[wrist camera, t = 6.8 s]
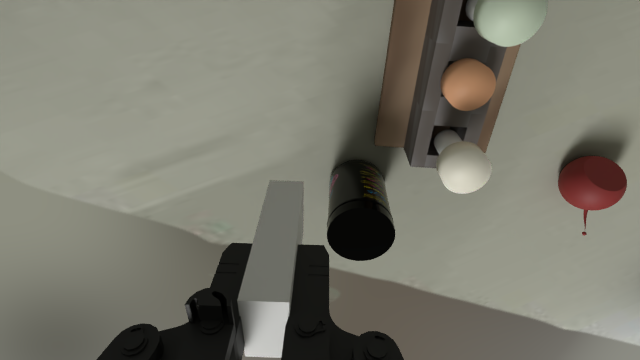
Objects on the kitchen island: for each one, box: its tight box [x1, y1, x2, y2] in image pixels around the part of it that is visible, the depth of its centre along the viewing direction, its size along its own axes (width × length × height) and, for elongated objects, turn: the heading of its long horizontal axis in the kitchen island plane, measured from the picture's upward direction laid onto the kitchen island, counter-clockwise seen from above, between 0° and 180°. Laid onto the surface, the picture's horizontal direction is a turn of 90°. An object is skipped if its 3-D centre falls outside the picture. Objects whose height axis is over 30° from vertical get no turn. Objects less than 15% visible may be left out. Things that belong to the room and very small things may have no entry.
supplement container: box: [327, 160, 395, 261], centre depth 40 cm, size 7×7×10 cm
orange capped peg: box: [441, 58, 496, 111], centre depth 33 cm, size 4×4×6 cm
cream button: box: [434, 129, 492, 194], centre depth 32 cm, size 4×4×6 cm
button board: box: [374, 0, 521, 168], centre depth 34 cm, size 12×18×6 cm
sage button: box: [465, 0, 548, 47], centre depth 26 cm, size 4×4×6 cm
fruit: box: [558, 156, 627, 235], centre depth 40 cm, size 6×6×8 cm
